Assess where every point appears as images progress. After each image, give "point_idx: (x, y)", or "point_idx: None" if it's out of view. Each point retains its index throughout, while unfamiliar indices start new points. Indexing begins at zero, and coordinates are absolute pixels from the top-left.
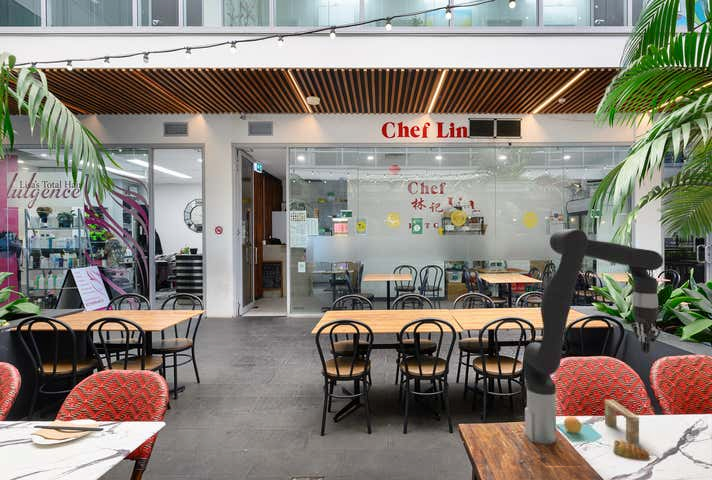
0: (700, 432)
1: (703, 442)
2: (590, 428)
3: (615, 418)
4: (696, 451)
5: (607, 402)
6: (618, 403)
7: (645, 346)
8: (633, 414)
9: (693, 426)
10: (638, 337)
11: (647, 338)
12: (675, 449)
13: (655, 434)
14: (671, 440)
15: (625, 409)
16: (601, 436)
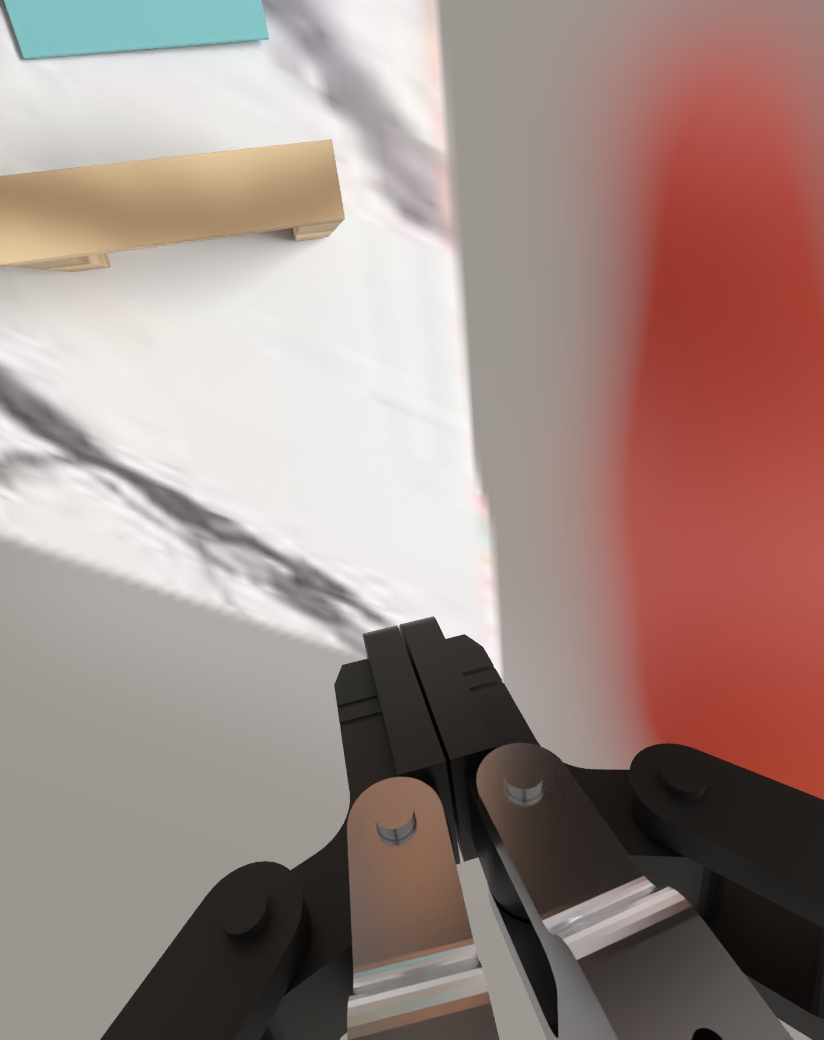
0: (313, 623)
1: (201, 595)
2: (204, 16)
3: (294, 228)
4: (79, 529)
5: (293, 145)
6: (269, 226)
7: (346, 739)
8: (51, 246)
9: (375, 621)
10: (631, 792)
11: (186, 1024)
12: (67, 442)
13: (241, 421)
14: (183, 469)
15: (146, 226)
16: (92, 45)
